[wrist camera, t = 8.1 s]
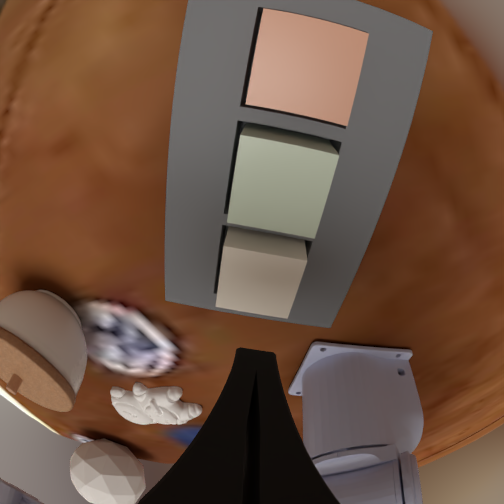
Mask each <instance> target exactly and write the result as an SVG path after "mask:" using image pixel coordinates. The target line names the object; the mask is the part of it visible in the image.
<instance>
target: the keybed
mask: <svg viewBox="0 0 504 504" xmlns="http://www.w3.org/2000/svg"><path fill="white" fill-rule="evenodd" d="M263 8H265V9H272V10H278V11H283V12H289V13H294V14H299V15H304V16H308V17H312V18H317V19H321V20H325V21H329V22H332V23H336V24H340V25H343V26H347V27H350V28H353V29H356V30H360V31H363V32H366V33H369V36H368V41H367V45H366V50H365V55H364V59H363V64H362V68H361V72H360V77H359V81H358V85H357V89H356V94H355V98H354V102H353V106H352V110H351V114H350V118H349V121H348V125H347V126H344V125H341V124H337V123H333V122H329V121H325V120H321V119H317V118H313V117H309V116H304V115H300V114H295V113H290V112H285V111H280V110H275V109H270V108H265V107H259V106H253V105H247V104H246V99H247V93H248V87H249V82H250V76H251V70H252V65H253V60H254V54H255V49H256V44H257V38H258V33H259V28H260V23H261V18H262V13H263ZM432 33H433V31H431V30H429V29H427V28H425V27H423V26H420V25H418V24H416V23H414V22H412V21H409V20H407V19H405V18H402V17H400V16H397V15H395V14H392V13H390V12H387V11H385V10H382V9H379V8H376V7H374V6H371V5H368V4H365V3H362V2H359V1H356V0H188V5H187V11H186V16H185V22H184V27H183V33H182V39H181V46H180V52H179V59H178V66H177V74H176V81H175V90H174V98H173V107H172V117H171V128H170V140H169V153H168V168H167V187H166V212H165V300H166V301H171V302H175V303H180V304H185V305H190V306H195V307H201V308H206V309H211V310H217V311H222V312H228V313H233V314H239V315H245V316H251V317H257V318H263V319H270V320H276V321H283V322H289V323H296V324H303V325H311V326H318V327H326V328H330V327H331V325H332V323H333V321H334V319H335V317H336V315H337V313H338V311H339V309H340V307H341V305H342V303H343V300H344V298H345V296H346V294H347V292H348V290H349V288H350V285H351V283H352V281H353V279H354V276H355V274H356V272H357V270H358V267H359V265H360V263H361V260H362V258H363V256H364V253H365V251H366V249H367V246H368V244H369V241H370V239H371V237H372V234H373V232H374V229H375V227H376V224H377V221H378V219H379V216H380V214H381V211H382V208H383V206H384V203H385V200H386V198H387V195H388V192H389V189H390V187H391V184H392V181H393V178H394V175H395V172H396V169H397V166H398V163H399V160H400V157H401V154H402V151H403V148H404V145H405V142H406V138H407V135H408V132H409V128H410V125H411V121H412V118H413V114H414V111H415V107H416V103H417V100H418V96H419V92H420V88H421V84H422V80H423V76H424V71H425V67H426V63H427V58H428V53H429V49H430V44H431V38H432ZM246 123H249V124H255V125H261V126H266V127H272V128H277V129H282V130H287V131H292V132H296V133H301V134H306V135H310V136H314V137H319V138H323V139H327V140H329V141H330V143H331V144H332V145H333V147H334V148H335V150H336V151H337V153H338V154H339V159H338V162H337V166H336V169H335V173H334V176H333V180H332V183H331V187H330V190H329V193H328V197H327V200H326V204H325V207H324V210H323V213H322V217H321V220H320V223H319V226H318V230H317V233H316V236H315V239H314V238H308V237H303V236H298V235H293V234H287V233H282V232H276V231H271V230H266V229H260V228H255V227H249V226H243V225H238V224H232V223H227V218H228V211H229V204H230V197H231V191H232V184H233V178H234V171H235V165H236V159H237V152H238V146H239V140H240V135H241V133H242V131H243V129H244V127H245V125H246ZM229 226H232V227H238V228H243V229H249V230H255V231H260V232H266V233H271V234H276V235H282V236H287V237H293V238H298V239H303V240H305V247H306V254H307V264H306V267H305V270H304V273H303V276H302V279H301V282H300V284H299V287H298V290H297V293H296V296H295V299H294V302H293V305H292V308H291V310H290V313H289V316H288V319H286V318H279V317H273V316H266V315H260V314H254V313H248V312H242V311H236V310H231V309H225V308H220V307H216V299H217V291H218V283H219V276H220V268H221V261H222V253H223V246H224V242H225V239H226V235H227V231H228V228H229Z"/></svg>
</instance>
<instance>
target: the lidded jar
mask: <svg viewBox="0 0 504 504" xmlns="http://www.w3.org/2000/svg"><path fill="white" fill-rule="evenodd" d="M86 362H87V346H86V341H85V337H84V334H83V331H82V324H81V321H80V318H79V317H78V315H77V313H76V312H75V311H74V309H73V308H72V307H71V306H70V305H69V304H68V303H67V302H66V301H65V300H63V299H62V298H61V297H59V296H58V295H56V294H54V293H52V292H50V291H47V290H42V289H39V290H36V291H32V290H24V291H19V292H15V293H13V294H11V295H9V296H7V297H5V298H4V299H2V300H1V301H0V378H1V379H2V380H4V381H5V382H6V383H7V386H6V388H7V390H9V391H10V392H11V393H12V394H14V395H16V393H17V392H19V393H20V394H22V395H23V396H25V397H26V398H28V399H30V400H32V401H33V402H35V403H37V404H39V405H41V406H44V407H46V408H49V409H52V410H56V411H61V412H66V411H70V410H71V409H72V408H73V406H74V403H75V400H76V395H77V393H78V390H79V388H80V385H81V383H82V380H83V376H84V373H85V368H86Z"/></svg>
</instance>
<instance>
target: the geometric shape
mask: <svg viewBox="0 0 504 504" xmlns="http://www.w3.org/2000/svg"><path fill="white" fill-rule="evenodd" d="M70 474H71V479H72V483H73V484H74V486H75V488H76V489H77V491H78V492H79V493H80V494H81V495H82V496H83V497H84V498H85V499H86V500H87V501H88V502H91V503H93V504H135V503H136V501H137V500H138V498H139V497H140V495H141V494H142V492H143V491H144V490H145V488H146V485H145V478H144V470H143V465H142V464H141V463H140V462H139V460H138V459H137V458H136V457H135V456H134V455H133V453H132V452H131V451H130V450H129V449H128V447H126V446H123V445H120V444H118V443H115V442H112V441H110V440H107V439H100V440H95V441H91V442H86V443H82V444H81V445H80V446H79V447H78V448H77V449H76V450H75V451H74V453H73V455H72V457H71V459H70Z"/></svg>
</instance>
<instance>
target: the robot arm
mask: <svg viewBox="0 0 504 504" xmlns="http://www.w3.org/2000/svg"><path fill="white" fill-rule="evenodd" d="M412 355H413V353H412V351H411V350H408V349H392V348H379V347H367V346H356V345H346V344H336V343H327V342H314V343H312V344H311V346H310V348H309V350H308V352H307V354H306V356H305V358H304V360H303V362H302V364H301V366H300V368H299V370H298V372H297V374H296V376H295V378H294V380H293V382H292V384H291V385H290V387H289V389H288V393H289V394H291V395H298V396H302V402H303V442H302V439H301V437H300V435H299V433H298V430H297V428H296V425H295V423H294V420H293V418H292V415H291V412H290V409H289V406H288V403H287V400H286V397H285V394H284V391H283V387H282V383H281V379H280V375H279V371H278V366H277V360H276V355H275V354H274V353H273V352H266V351H259V350H253V349H247V348H238V349H237V350H236V354H235V359H234V363H233V366H232V369H231V372H230V374H229V377H228V379H227V382H226V384H225V386H224V388H223V390H222V392H221V395H220V397H219V399H218V400H217V402H216V404H215V406H214V408H213V409H212V411H211V413H210V415H209V416H208V418H207V420H206V421H205V423H204V425H203V426H202V428H201V429H200V431H199V432H198V434H197V435H196V437H195V438H194V439H193V441H192V442H191V444H190V445H189V446H188V448H187V449H186V450H185V452H184V453H183V454H182V455H181V457H180V458H179V459H178V460H177V462H176V463H175V464H174V465H173V466H172V468H171V469H170V470H169V471H168V472H167V473H166V474H165V475H164V477H163V478H162V479H161V480H160V481H159V482H158V483H157V484H156V485H155V486H154V487H153V488H152V489H151V490H150V491H149V492H148V493H147V494H146V495H145V496H144V497H143V498H142V499H141V500H140V501H139V503H138V504H423V501H422V493H421V485H420V478H419V472H418V466H417V460H416V456H415V455H413V454H410V453H412V452H413V451H414V449H415V448H416V447H417V445H418V443H419V441H420V439H421V436H422V431H423V411H422V407H421V403H420V399H419V395H418V392H417V388H416V384H415V381H414V377H413V374H412V370H411V367H410V364H409V361H408V360H409V359H410V358H411V357H412ZM0 504H44V503H42V502H40V501H39V500H38V499H37V498H35V497H33V496H31V495H29V494H28V493H26V492H24V491H23V490H21V489H19V488H18V487H16V486H14V485H12V484H10V483H8V482H6V481H4V480H2V479H1V478H0Z"/></svg>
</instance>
